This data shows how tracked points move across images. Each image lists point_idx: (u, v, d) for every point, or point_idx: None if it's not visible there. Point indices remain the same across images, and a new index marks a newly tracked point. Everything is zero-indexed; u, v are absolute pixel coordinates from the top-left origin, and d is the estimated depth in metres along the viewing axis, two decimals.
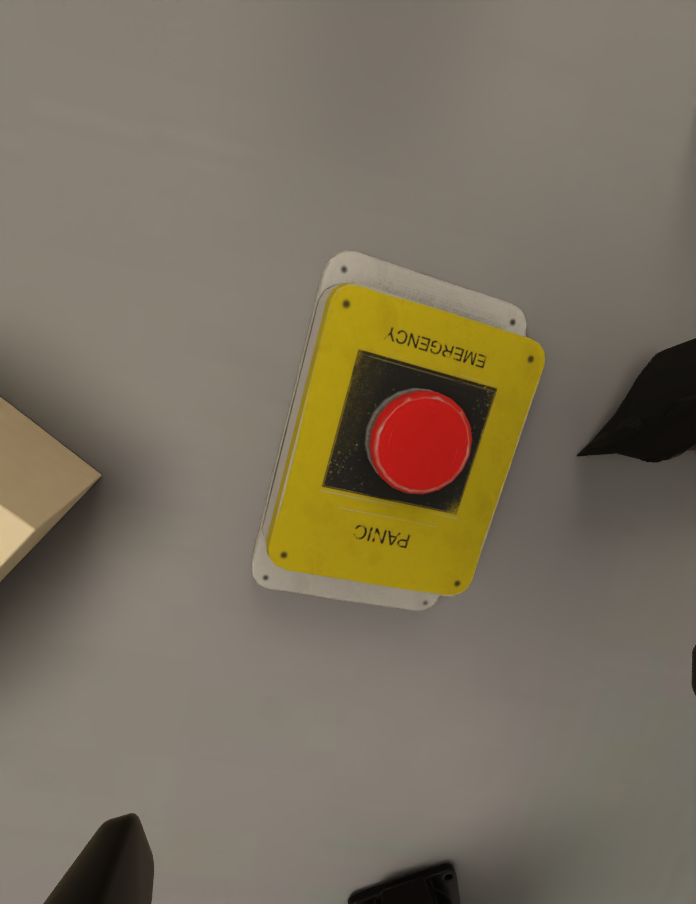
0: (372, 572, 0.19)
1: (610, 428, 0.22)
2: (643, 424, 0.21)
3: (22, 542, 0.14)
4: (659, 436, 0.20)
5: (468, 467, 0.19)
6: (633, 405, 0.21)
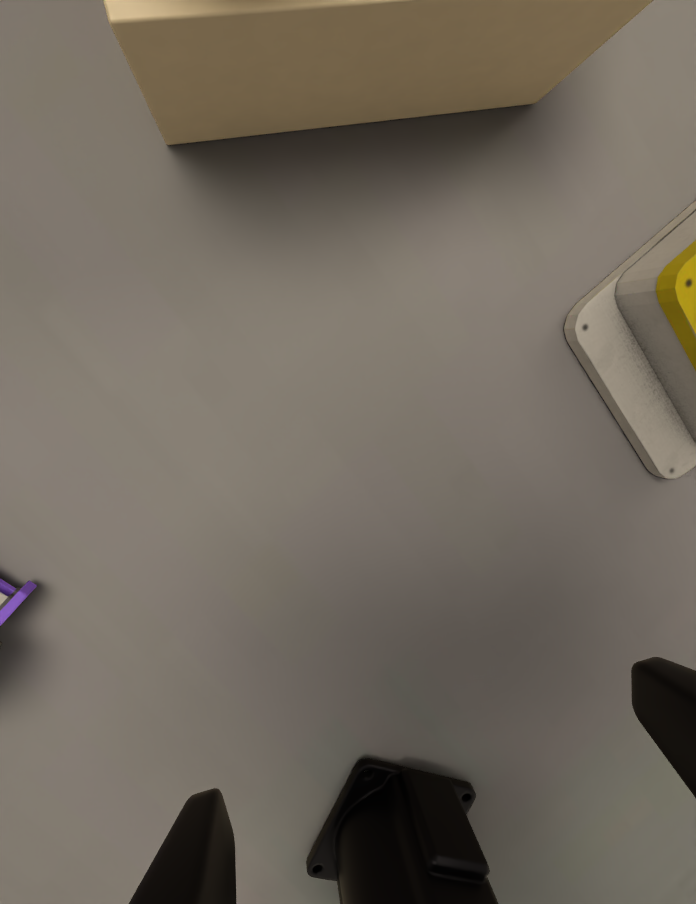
0: None
1: None
2: None
3: None
4: None
5: None
6: None
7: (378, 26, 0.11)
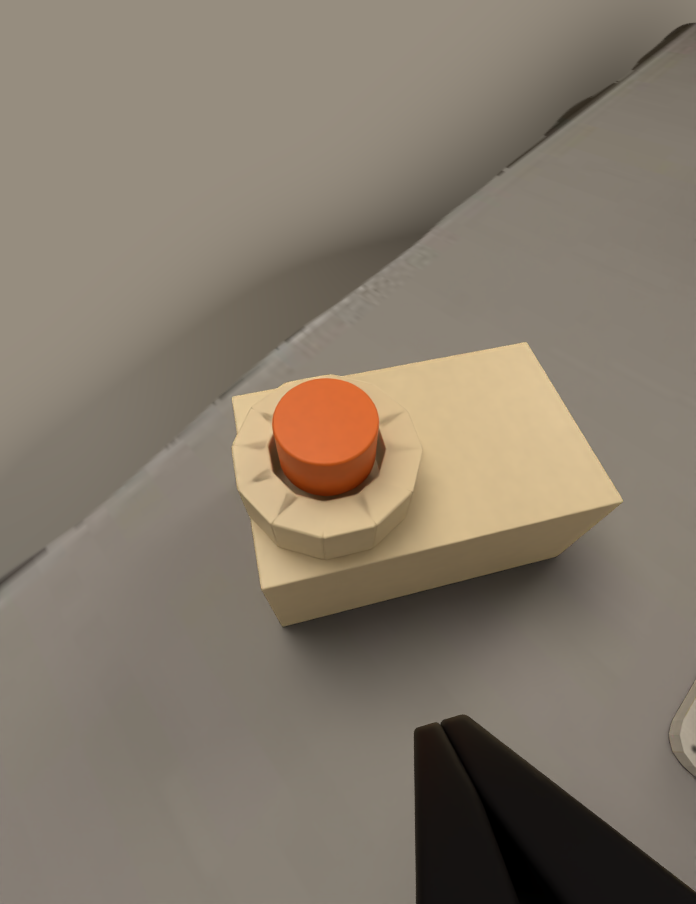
0: None
1: None
2: None
3: (610, 503, 0.17)
4: None
5: None
6: None
7: (429, 556, 0.16)
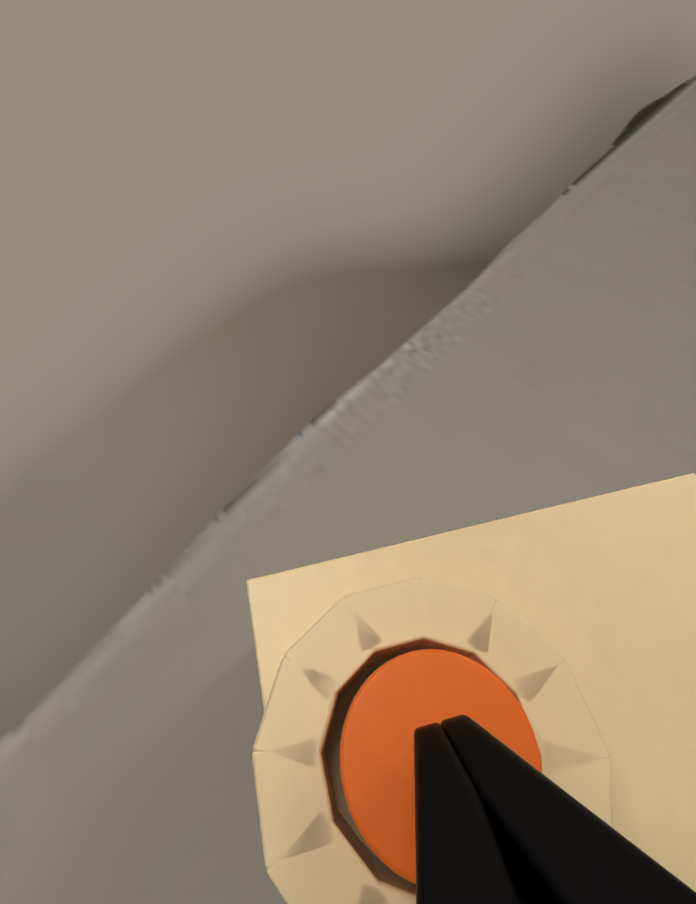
0: None
1: None
2: None
3: None
4: None
5: None
6: None
7: None
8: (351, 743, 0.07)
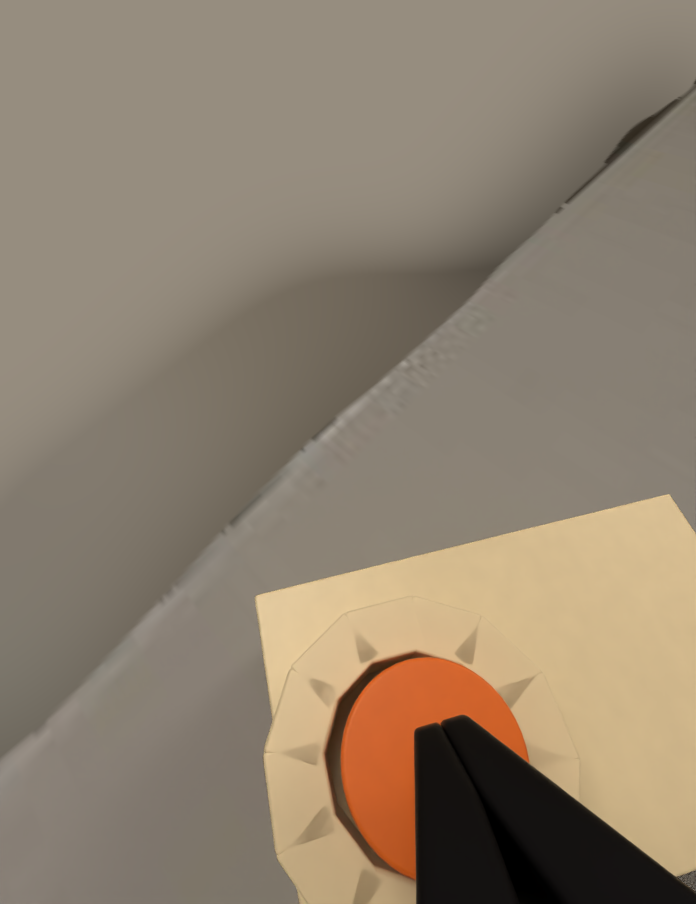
0: None
1: None
2: None
3: None
4: None
5: None
6: None
7: None
8: (351, 746, 0.08)
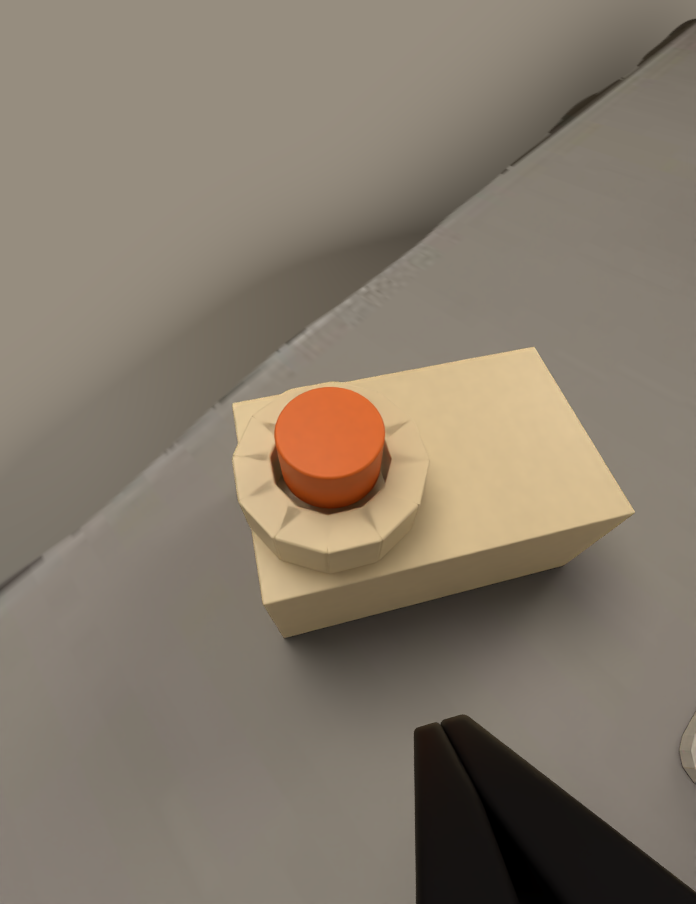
0: None
1: None
2: None
3: (621, 515, 0.16)
4: None
5: None
6: None
7: (436, 569, 0.16)
8: (281, 424, 0.13)
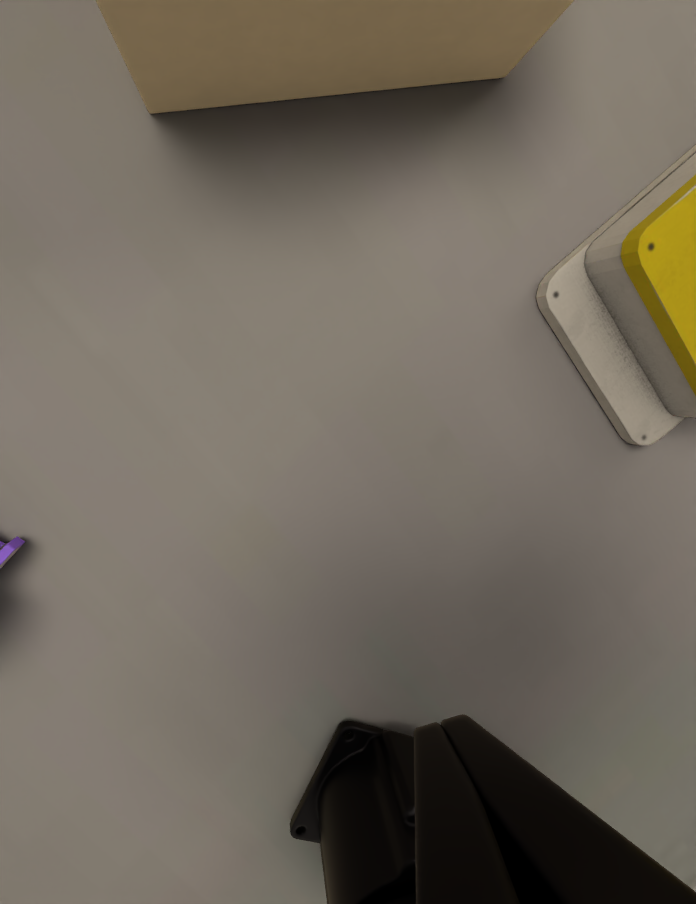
0: (693, 332, 0.18)
1: None
2: None
3: None
4: None
5: None
6: None
7: None
8: None
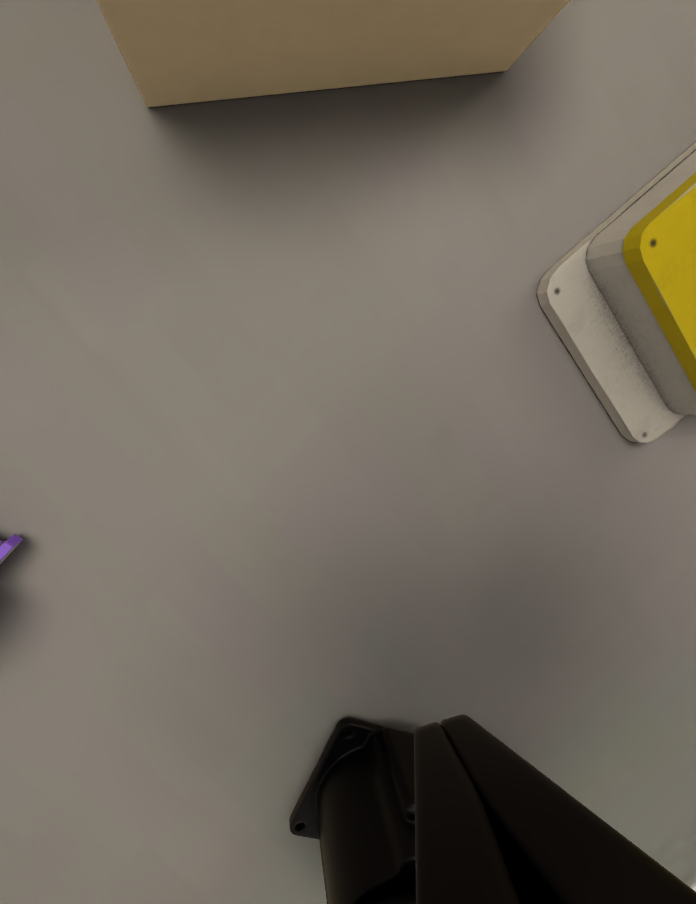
0: (695, 329, 0.17)
1: None
2: None
3: None
4: None
5: None
6: None
7: None
8: None
